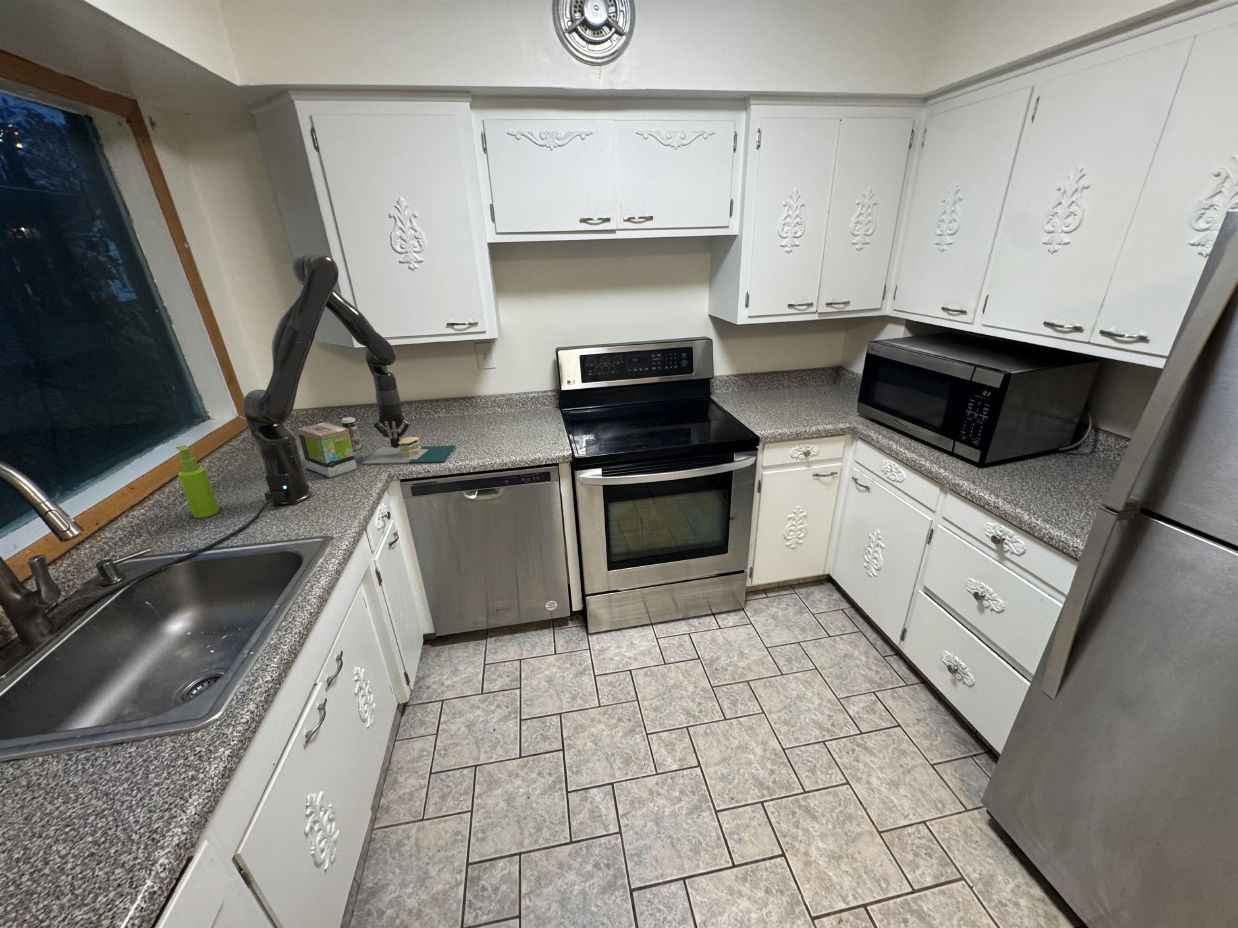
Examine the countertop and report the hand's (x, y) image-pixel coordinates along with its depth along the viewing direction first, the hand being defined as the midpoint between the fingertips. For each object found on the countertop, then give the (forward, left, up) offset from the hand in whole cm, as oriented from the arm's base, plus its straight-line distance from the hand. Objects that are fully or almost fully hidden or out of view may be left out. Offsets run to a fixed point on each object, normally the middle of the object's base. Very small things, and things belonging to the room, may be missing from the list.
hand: (396, 447), depth 184 cm
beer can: (+9, +19, -4) cm, 22 cm away
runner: (0, -5, -3) cm, 6 cm away
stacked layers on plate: (0, -5, -3) cm, 6 cm away
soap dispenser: (-42, +39, -4) cm, 58 cm away
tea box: (-11, +18, -4) cm, 22 cm away
